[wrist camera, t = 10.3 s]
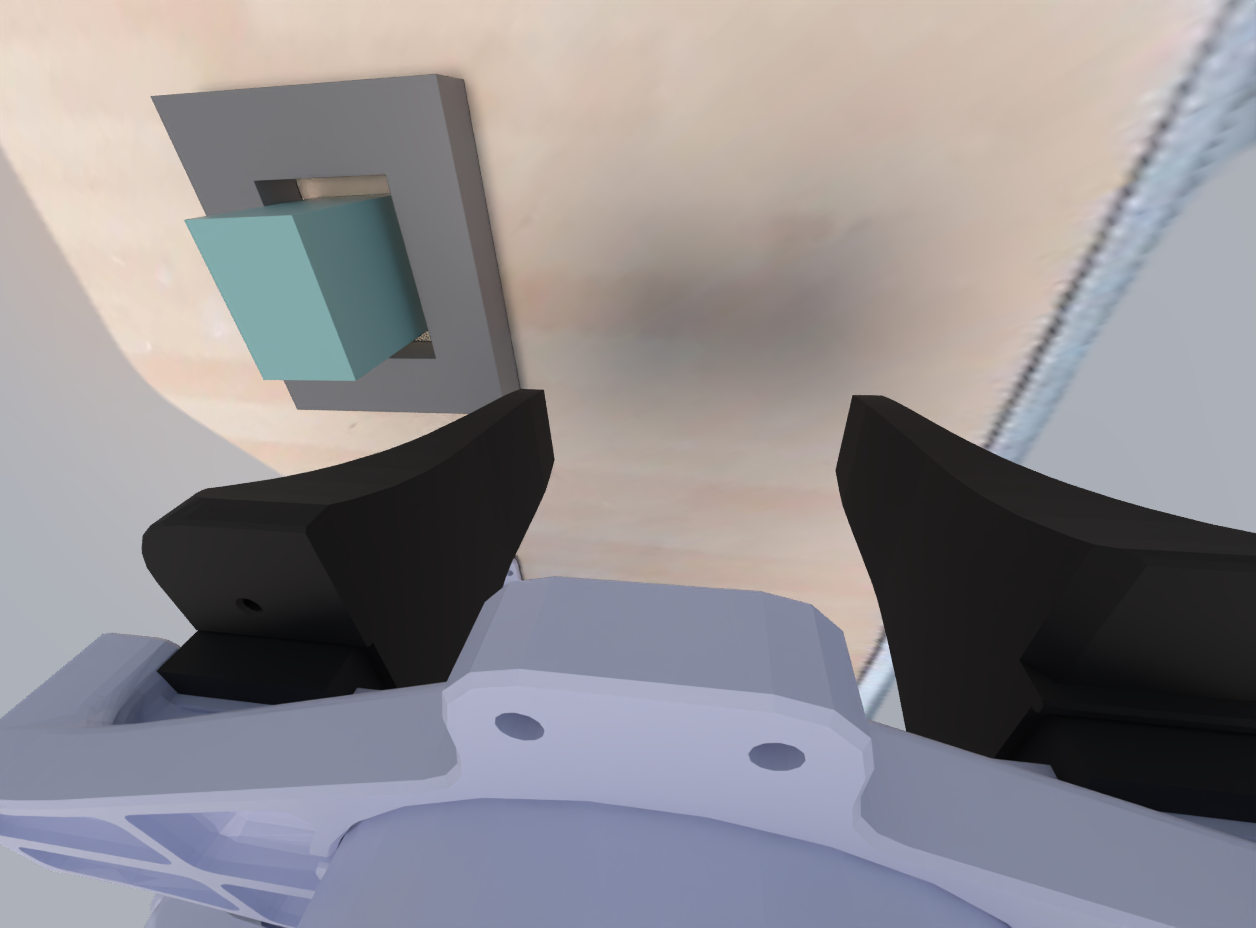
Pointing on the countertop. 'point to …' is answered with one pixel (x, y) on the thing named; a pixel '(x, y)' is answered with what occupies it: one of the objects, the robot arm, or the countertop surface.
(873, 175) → the countertop surface
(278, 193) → the socket plate
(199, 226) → the plug
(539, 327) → the countertop surface
